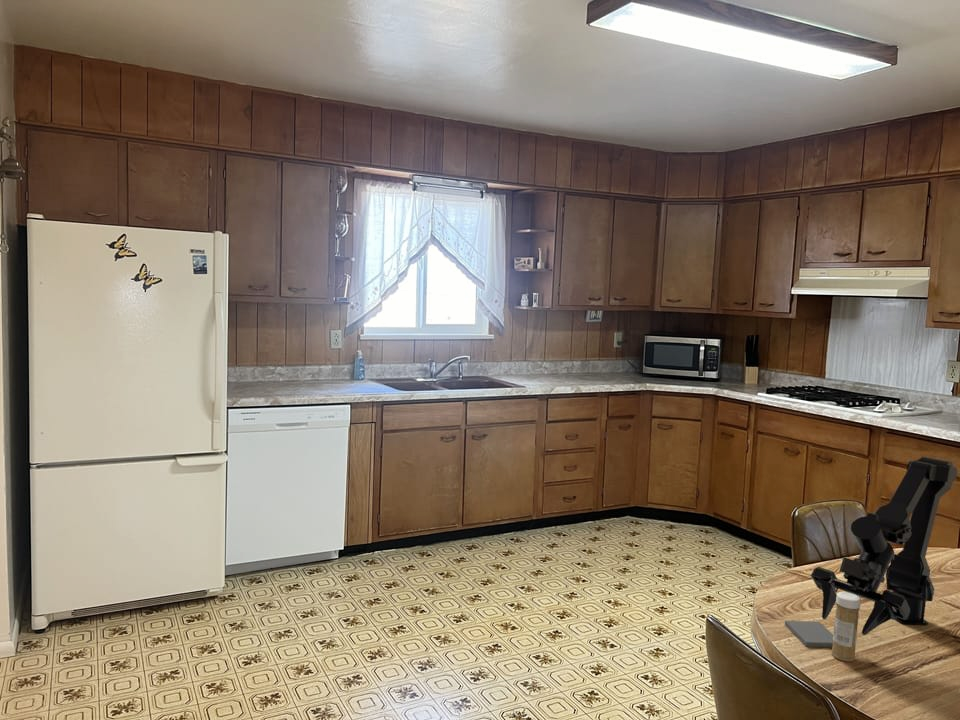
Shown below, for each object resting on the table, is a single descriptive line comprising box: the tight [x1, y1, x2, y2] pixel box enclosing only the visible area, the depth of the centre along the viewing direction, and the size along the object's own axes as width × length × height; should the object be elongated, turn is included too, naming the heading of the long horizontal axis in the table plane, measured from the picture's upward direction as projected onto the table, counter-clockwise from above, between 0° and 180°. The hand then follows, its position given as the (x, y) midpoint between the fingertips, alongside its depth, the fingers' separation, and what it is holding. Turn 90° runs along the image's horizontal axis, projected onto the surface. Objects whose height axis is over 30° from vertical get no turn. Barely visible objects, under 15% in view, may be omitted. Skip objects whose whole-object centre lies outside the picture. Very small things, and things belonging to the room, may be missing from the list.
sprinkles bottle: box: [831, 591, 862, 662], centre depth 151 cm, size 5×5×13 cm
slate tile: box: [784, 620, 834, 648], centre depth 160 cm, size 8×10×1 cm
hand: (842, 626), depth 150 cm, fingers open, 8 cm apart
